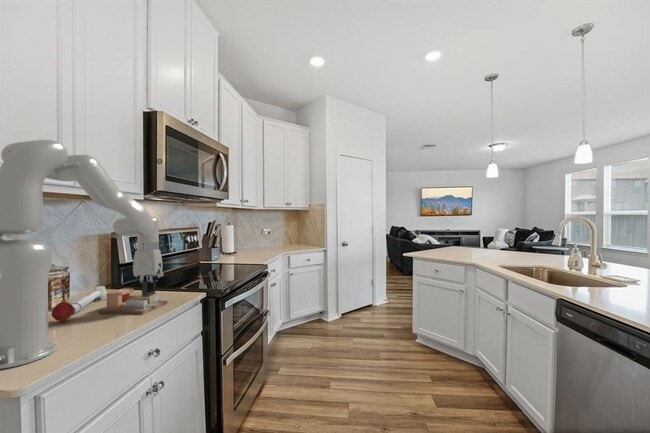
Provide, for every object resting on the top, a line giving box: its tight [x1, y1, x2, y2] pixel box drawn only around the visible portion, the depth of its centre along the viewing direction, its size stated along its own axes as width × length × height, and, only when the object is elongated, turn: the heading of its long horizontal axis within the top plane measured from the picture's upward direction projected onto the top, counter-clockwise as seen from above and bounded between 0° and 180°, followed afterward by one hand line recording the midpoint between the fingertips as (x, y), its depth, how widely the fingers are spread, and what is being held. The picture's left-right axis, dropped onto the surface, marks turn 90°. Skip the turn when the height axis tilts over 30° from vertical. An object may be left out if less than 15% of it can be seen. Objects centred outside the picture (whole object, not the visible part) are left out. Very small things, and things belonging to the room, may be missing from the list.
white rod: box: [70, 285, 109, 316], centre depth 118 cm, size 5×7×25 cm
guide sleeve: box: [126, 295, 159, 309], centre depth 113 cm, size 8×8×3 cm
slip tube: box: [129, 279, 156, 304], centre depth 113 cm, size 4×9×9 cm, turn 83°
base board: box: [98, 299, 168, 315], centre depth 114 cm, size 14×19×1 cm
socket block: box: [106, 287, 135, 308], centre depth 114 cm, size 8×5×6 cm, turn 173°
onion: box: [51, 299, 74, 323], centre depth 99 cm, size 6×6×8 cm
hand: (148, 291), depth 113 cm, fingers closed on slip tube, 2 cm apart
